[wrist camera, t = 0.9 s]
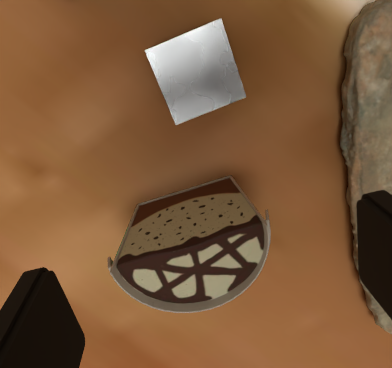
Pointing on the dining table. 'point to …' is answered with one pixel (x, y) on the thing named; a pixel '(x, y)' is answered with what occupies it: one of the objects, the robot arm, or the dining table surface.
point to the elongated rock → (368, 117)
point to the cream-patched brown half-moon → (192, 248)
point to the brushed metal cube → (196, 72)
